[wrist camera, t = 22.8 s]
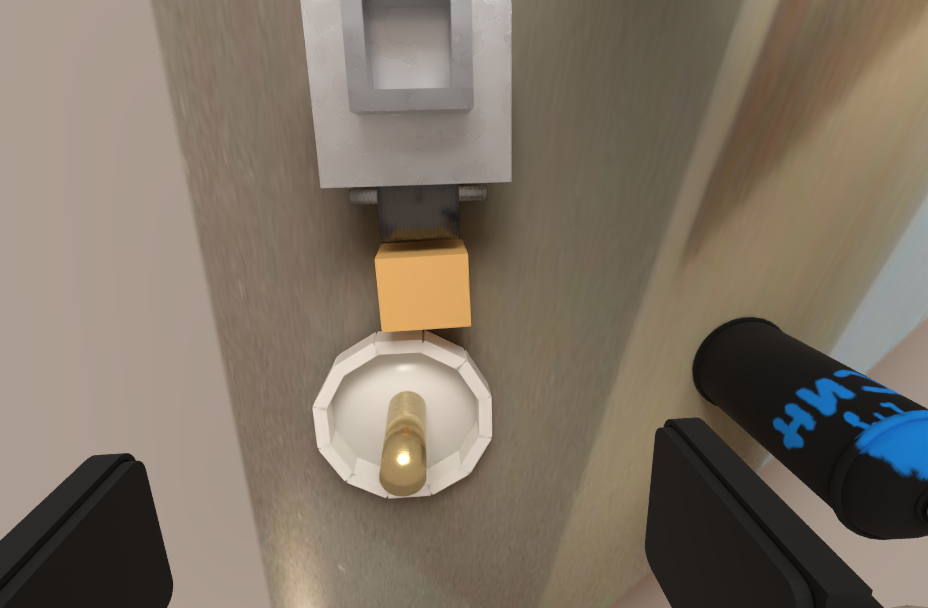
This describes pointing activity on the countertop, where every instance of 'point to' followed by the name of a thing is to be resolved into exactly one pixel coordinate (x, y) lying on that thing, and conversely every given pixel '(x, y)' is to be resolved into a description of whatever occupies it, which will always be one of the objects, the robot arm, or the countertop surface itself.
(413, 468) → the pin
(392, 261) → the orange cube
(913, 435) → the aerosol can
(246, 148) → the countertop surface
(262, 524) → the countertop surface
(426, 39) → the white stand
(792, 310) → the countertop surface
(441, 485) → the dish
